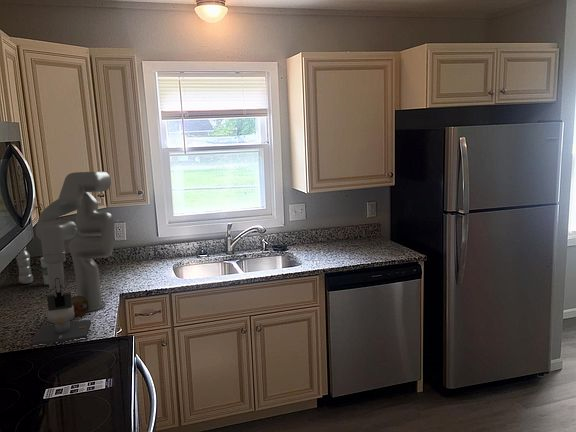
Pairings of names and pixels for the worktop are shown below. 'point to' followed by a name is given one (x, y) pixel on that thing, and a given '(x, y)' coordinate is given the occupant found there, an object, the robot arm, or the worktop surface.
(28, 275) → the plastic bottle
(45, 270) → the syrup box
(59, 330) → the mount
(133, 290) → the worktop surface
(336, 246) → the worktop surface
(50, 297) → the rotary knob
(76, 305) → the tin
